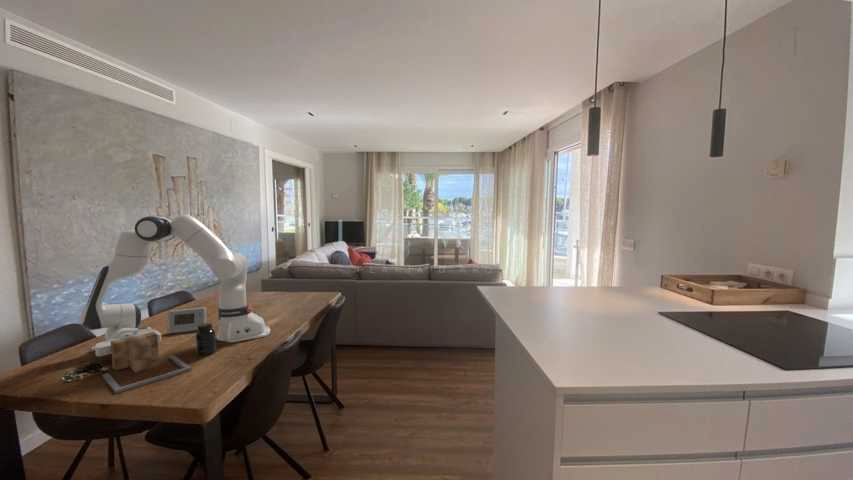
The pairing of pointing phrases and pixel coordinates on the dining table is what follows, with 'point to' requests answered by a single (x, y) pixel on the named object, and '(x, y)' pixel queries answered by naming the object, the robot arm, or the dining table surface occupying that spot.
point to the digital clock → (185, 320)
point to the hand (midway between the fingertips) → (134, 347)
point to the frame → (118, 389)
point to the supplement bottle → (205, 339)
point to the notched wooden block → (135, 352)
